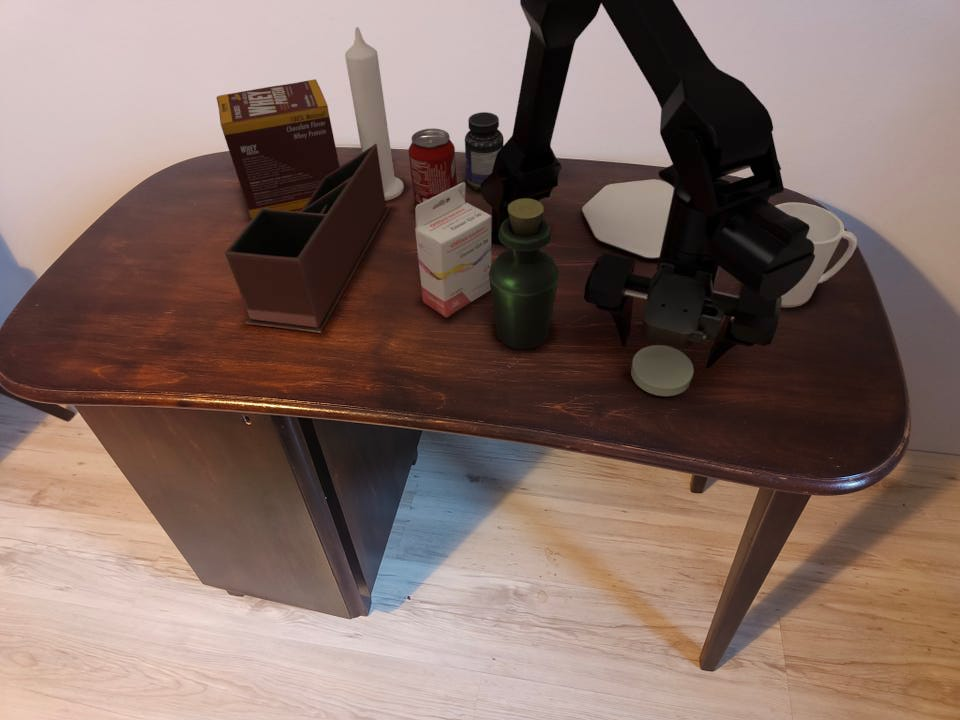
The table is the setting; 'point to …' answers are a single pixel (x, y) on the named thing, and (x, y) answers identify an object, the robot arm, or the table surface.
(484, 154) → the pill bottle
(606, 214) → the plate
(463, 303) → the ink cartridge box
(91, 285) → the table surface
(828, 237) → the mug
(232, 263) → the desk organizer
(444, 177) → the soda can
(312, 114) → the supplement box
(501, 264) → the potion bottle
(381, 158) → the candle
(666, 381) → the green cylinder
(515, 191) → the robot arm
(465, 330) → the table surface
